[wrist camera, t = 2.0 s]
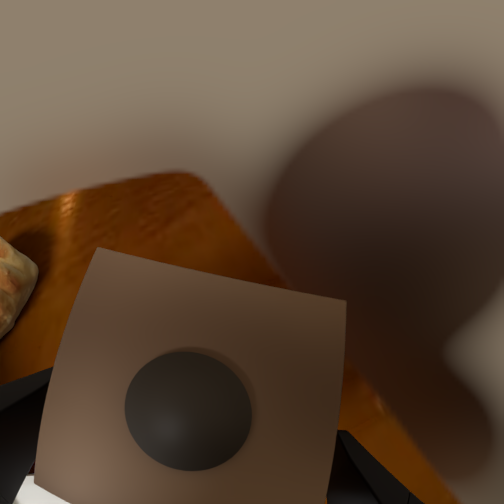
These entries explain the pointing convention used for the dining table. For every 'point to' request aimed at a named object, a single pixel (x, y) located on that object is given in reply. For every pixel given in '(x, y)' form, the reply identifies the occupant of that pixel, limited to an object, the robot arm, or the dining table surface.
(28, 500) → the tray
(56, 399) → the block
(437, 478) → the dining table surface
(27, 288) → the pastry
